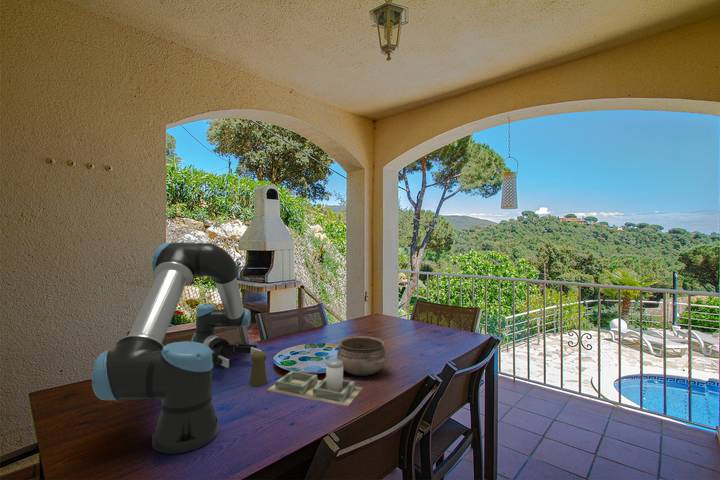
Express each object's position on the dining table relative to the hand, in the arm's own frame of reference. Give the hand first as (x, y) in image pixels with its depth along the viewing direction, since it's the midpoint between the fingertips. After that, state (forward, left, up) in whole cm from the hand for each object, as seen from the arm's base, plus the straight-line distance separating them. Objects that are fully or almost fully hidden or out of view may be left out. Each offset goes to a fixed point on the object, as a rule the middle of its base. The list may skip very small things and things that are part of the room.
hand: (245, 358), depth 127 cm
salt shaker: (-2, -37, -5) cm, 38 cm away
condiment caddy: (-2, -30, -6) cm, 31 cm away
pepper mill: (-3, -8, -7) cm, 11 cm away
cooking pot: (+19, -39, -7) cm, 44 cm away
